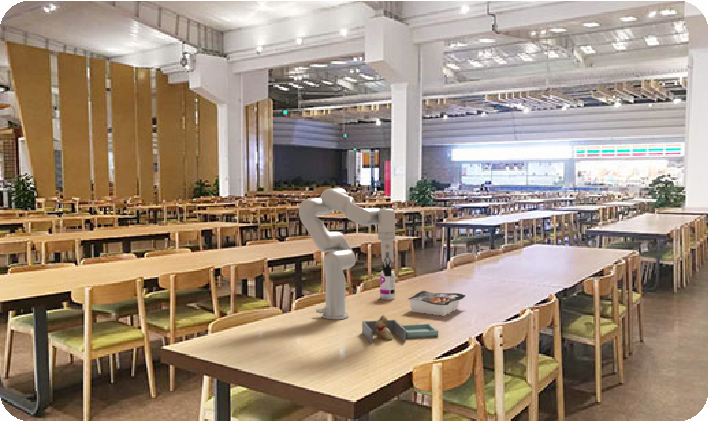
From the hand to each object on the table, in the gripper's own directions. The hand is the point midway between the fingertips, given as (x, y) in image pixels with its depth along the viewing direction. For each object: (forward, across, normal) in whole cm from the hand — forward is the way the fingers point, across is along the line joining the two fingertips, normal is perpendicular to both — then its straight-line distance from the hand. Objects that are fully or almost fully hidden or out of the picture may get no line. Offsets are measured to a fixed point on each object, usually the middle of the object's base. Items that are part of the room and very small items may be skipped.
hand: (387, 274), depth 250 cm
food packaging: (+24, +32, -26) cm, 47 cm away
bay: (+24, -16, +3) cm, 29 cm away
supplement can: (+23, +59, -3) cm, 64 cm away
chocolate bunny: (+24, -17, +3) cm, 30 cm away
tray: (+24, -11, -12) cm, 29 cm away
